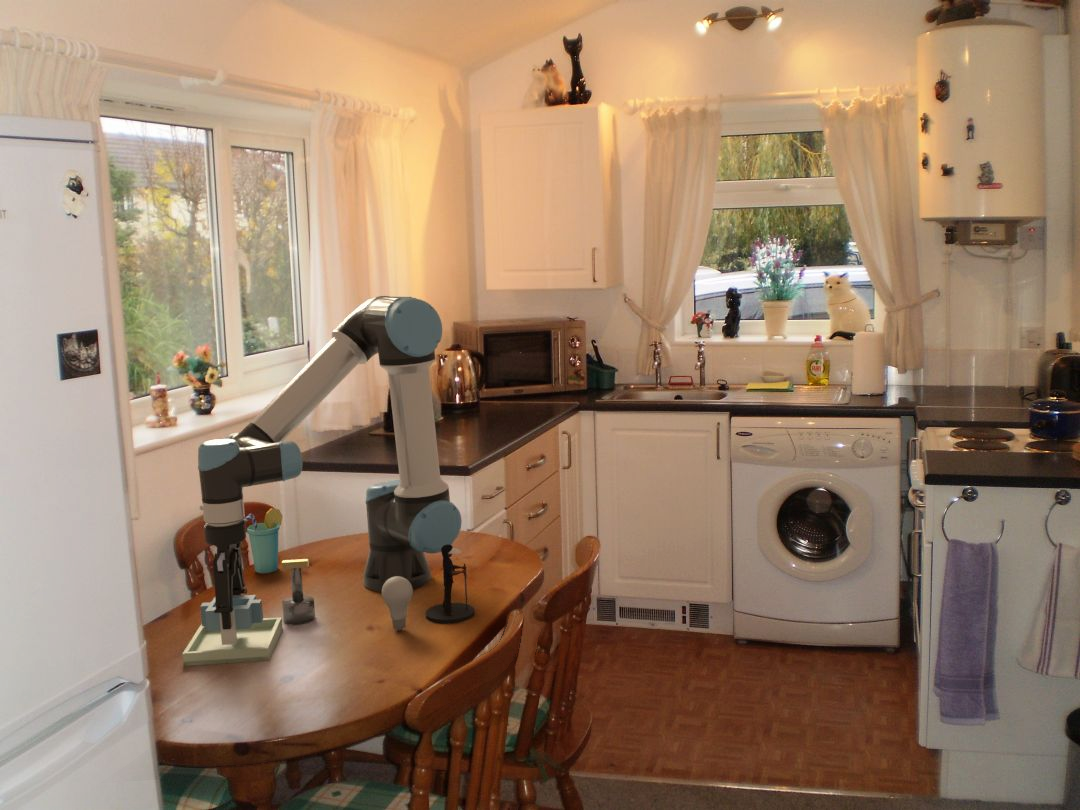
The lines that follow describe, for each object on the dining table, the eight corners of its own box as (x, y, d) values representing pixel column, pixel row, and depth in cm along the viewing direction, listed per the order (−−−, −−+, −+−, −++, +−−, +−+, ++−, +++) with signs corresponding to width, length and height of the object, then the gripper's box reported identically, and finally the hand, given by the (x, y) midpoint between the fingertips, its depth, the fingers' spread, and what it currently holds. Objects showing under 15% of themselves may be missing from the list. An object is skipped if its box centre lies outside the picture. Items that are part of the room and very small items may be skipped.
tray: (282, 628, 221) (281, 617, 221) (268, 660, 205) (267, 648, 205) (203, 633, 220) (202, 622, 220) (183, 665, 204) (182, 653, 204)
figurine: (477, 621, 222) (474, 549, 219) (427, 626, 220) (423, 553, 217) (471, 604, 231) (468, 535, 229) (423, 609, 230) (419, 540, 227)
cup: (262, 581, 252) (257, 517, 250) (233, 579, 255) (228, 516, 252) (294, 563, 265) (289, 502, 263) (266, 561, 268) (261, 501, 265)
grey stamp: (317, 612, 230) (313, 555, 228) (313, 623, 223) (308, 564, 221) (286, 614, 229) (281, 557, 227) (281, 625, 223) (276, 566, 221)
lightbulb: (420, 626, 220) (417, 573, 218) (406, 637, 214) (403, 583, 212) (392, 623, 222) (389, 571, 220) (378, 634, 216) (375, 580, 214)
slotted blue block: (198, 631, 208) (196, 611, 207) (207, 617, 215) (206, 597, 215) (258, 628, 208) (256, 608, 208) (265, 613, 216) (264, 594, 215)
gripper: (216, 508, 219) (225, 618, 222) (191, 537, 198) (202, 657, 202) (254, 506, 219) (263, 615, 223) (233, 535, 199) (243, 654, 202)
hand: (234, 635), depth 212 cm, fingers closed on slotted blue block, 8 cm apart
